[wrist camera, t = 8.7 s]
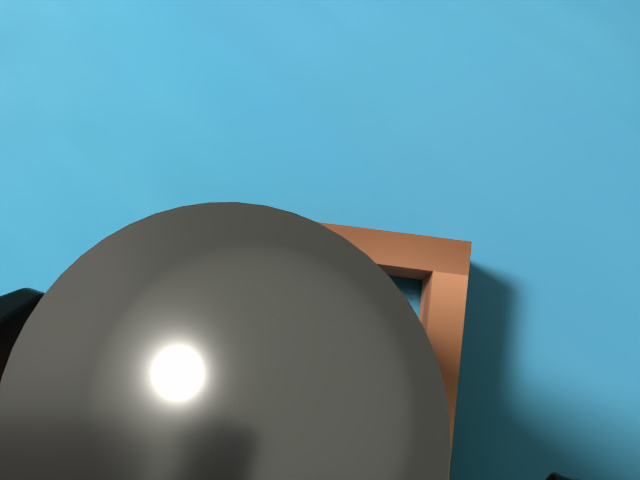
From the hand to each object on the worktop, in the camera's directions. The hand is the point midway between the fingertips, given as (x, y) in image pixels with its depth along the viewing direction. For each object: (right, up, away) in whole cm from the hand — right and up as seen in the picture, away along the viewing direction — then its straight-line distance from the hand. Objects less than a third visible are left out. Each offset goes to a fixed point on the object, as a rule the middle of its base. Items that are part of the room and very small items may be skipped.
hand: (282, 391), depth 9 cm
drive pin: (+1, -1, +8) cm, 8 cm away
